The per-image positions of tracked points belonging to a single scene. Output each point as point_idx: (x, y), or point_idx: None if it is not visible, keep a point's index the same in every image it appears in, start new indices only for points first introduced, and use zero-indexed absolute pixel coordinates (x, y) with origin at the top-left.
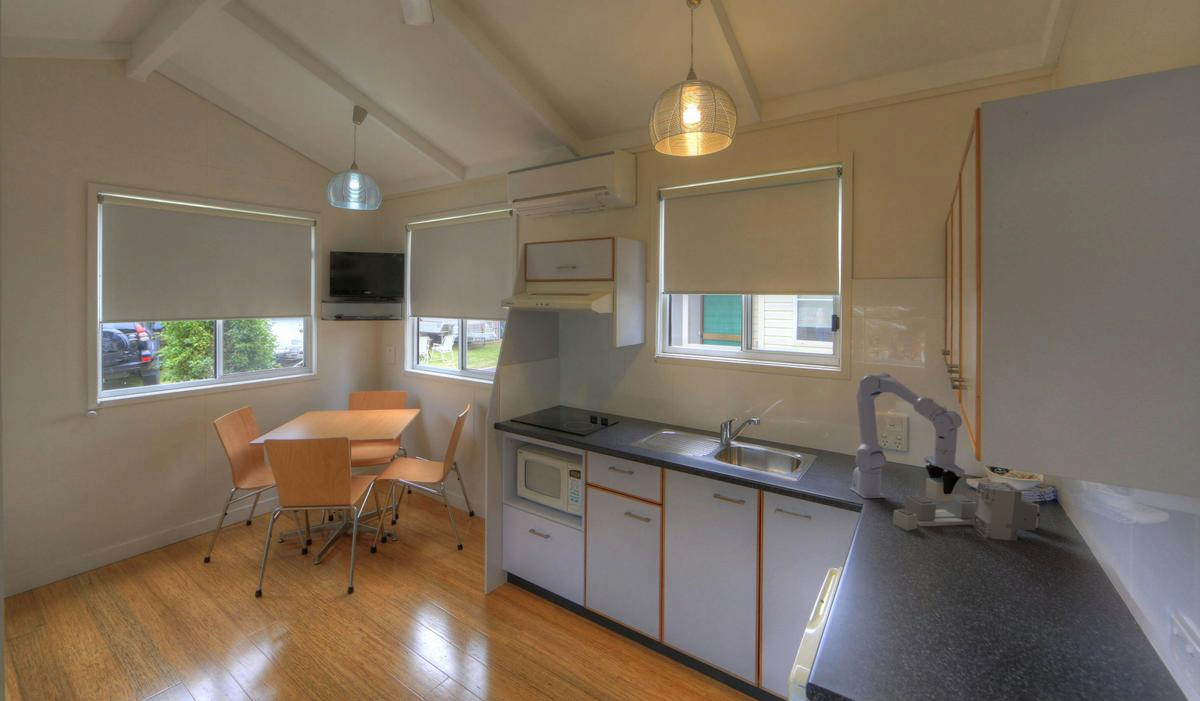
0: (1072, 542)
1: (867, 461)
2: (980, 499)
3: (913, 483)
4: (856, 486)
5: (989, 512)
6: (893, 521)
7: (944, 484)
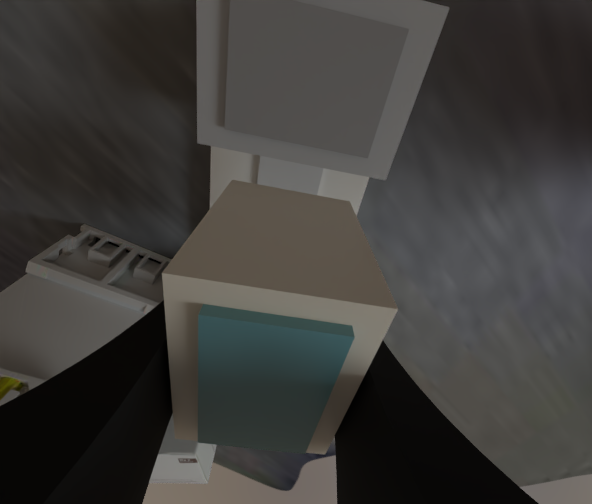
0: None
1: None
2: None
3: (560, 389)
4: None
5: (1, 317)
6: None
7: (147, 336)
